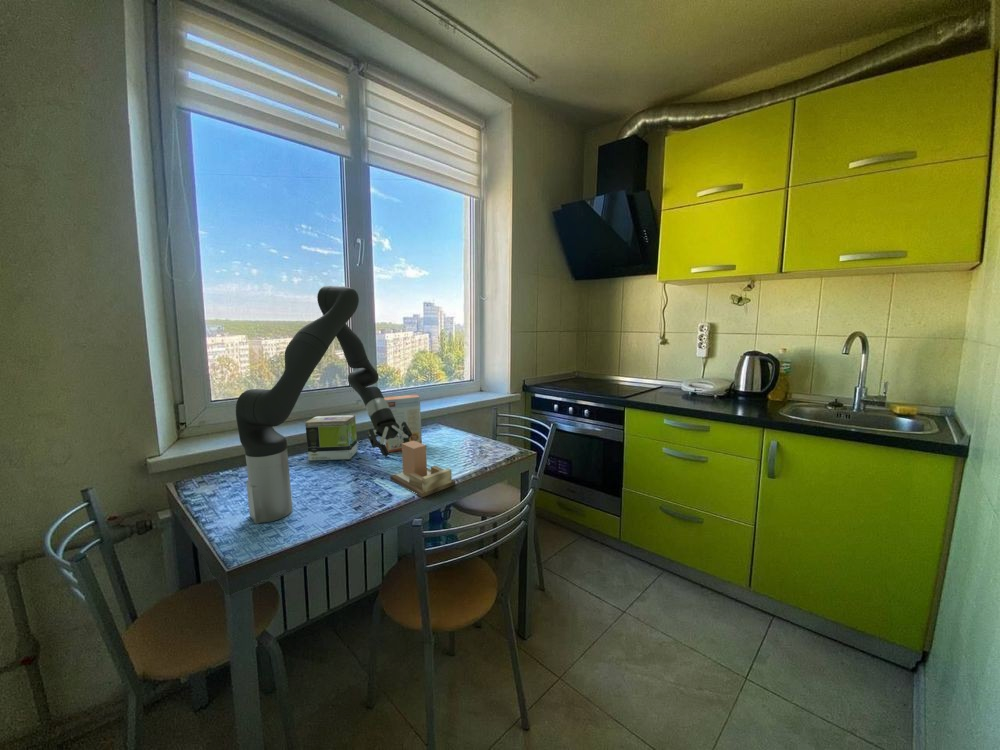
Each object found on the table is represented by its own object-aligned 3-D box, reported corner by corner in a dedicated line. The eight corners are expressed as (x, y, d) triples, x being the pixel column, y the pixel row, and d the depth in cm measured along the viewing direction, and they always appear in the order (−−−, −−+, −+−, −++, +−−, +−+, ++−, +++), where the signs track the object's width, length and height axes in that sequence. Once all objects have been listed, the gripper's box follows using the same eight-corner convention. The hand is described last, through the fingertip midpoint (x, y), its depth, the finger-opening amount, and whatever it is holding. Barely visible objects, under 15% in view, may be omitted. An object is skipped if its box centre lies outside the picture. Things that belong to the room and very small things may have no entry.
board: (422, 497, 110) (421, 480, 109) (390, 479, 123) (389, 463, 122) (455, 484, 118) (454, 468, 118) (422, 469, 131) (421, 454, 130)
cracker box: (419, 443, 158) (417, 393, 155) (422, 448, 153) (420, 396, 150) (383, 448, 153) (381, 396, 150) (386, 453, 147) (383, 399, 144)
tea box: (358, 451, 150) (356, 414, 148) (349, 460, 140) (347, 420, 138) (318, 452, 149) (315, 414, 147) (307, 461, 139) (304, 421, 137)
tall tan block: (414, 479, 119) (413, 448, 118) (402, 473, 124) (401, 443, 123) (427, 475, 122) (426, 445, 121) (414, 469, 127) (413, 440, 126)
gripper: (364, 411, 129) (382, 452, 122) (401, 404, 139) (420, 441, 132) (357, 423, 133) (375, 463, 127) (394, 416, 143) (412, 452, 137)
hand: (398, 452), depth 129 cm, fingers open, 8 cm apart
